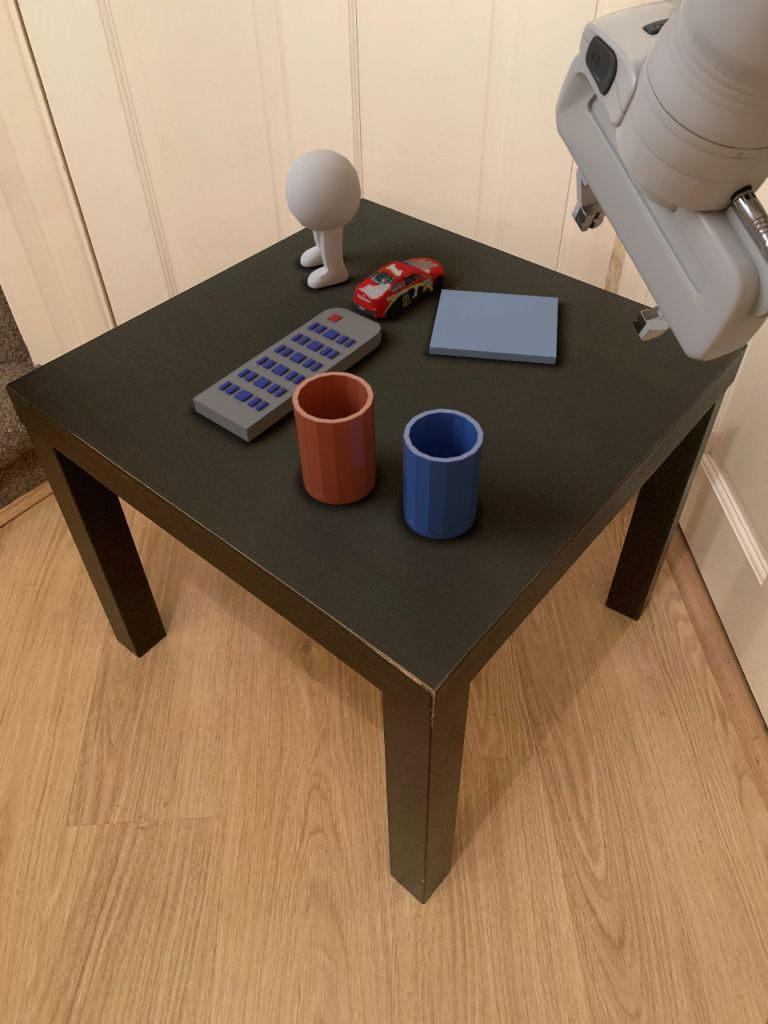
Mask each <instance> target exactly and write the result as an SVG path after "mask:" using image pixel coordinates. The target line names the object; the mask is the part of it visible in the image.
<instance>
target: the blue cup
mask: <svg viewBox="0 0 768 1024" xmlns="http://www.w3.org/2000/svg"><path fill="white" fill-rule="evenodd" d="M484 436H485V433H484V431H483V429H482V427H481V425H480V423H479V422H478V421H477V420H476V419H474V418H473V416H471V415H469V414H467V413H464V412H461V411H459V410H455V409H447V408H437V409H432V410H425V411H423V412H421V413H419V414H417V415H414V416H413V417H412V418H411V419H410V420H409V422H407V424H406V425H405V426H404V431H403V435H402V475H403V476H402V497H403V498H402V507H403V516H404V520H405V522H406V523H407V525H408V526H409V528H411V529H412V530H413V531H414V532H416V534H419V535H420V536H423V537H425V538H429V539H433V540H447V539H453V538H457V537H459V536H461V535H463V534H465V533H466V532H467V531H468V530H470V528H471V527H472V526H473V524H474V522H475V520H476V516H477V509H478V508H477V507H478V497H479V487H480V476H481V465H482V458H483V457H482V456H483V447H484Z"/></svg>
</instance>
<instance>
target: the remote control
mask: <svg viewBox="0 0 768 1024" xmlns="http://www.w3.org/2000/svg"><path fill="white" fill-rule="evenodd" d="M381 327H382V326H381V325H380V323H378V322H376V321H375V320H372V319H369V318H367V317H365V316H362V315H360V314H358V313H356V312H354V311H351V310H349V309H347V308H342V307H333V308H329V309H325V310H323V311H321V312H320V313H318V314H317V315H315V317H312V318H311V319H310V320H309V321H306V323H304V324H303V325H301V326H300V327H298V328H296V329H295V330H293V331H292V332H290V333H289V334H287V335H286V336H284V337H283V338H281V339H280V340H279V341H276V342H275V343H274V344H273V345H271V346H269V347H268V348H266V349H265V350H263V351H262V352H260V353H258V355H256V356H254V357H253V358H251V359H250V360H248V361H247V362H245V363H244V364H242V365H241V366H239V367H237V368H236V369H235V370H233V371H232V372H230V373H228V375H226V376H224V377H223V378H221V379H220V380H219V381H217V382H215V383H214V384H212V385H211V386H210V387H208V388H206V389H205V390H203V391H202V392H201V393H199V394H198V395H196V396H195V397H193V398H192V400H193V404H194V409H195V412H197V413H198V414H199V415H202V416H203V417H205V418H206V419H208V420H210V421H211V422H214V424H217V425H218V426H221V428H224V429H225V430H227V431H229V432H231V433H232V434H234V435H236V436H237V437H239V438H241V439H242V440H244V441H245V442H247V443H250V442H251V441H252V440H254V439H255V438H256V437H258V436H259V435H260V434H262V433H263V432H265V431H266V430H267V429H268V428H270V427H272V426H273V425H274V424H276V422H278V421H279V420H281V419H282V418H283V417H285V416H286V415H288V414H289V413H290V412H291V411H293V403H292V397H293V394H294V392H295V389H296V388H297V387H298V386H299V385H300V384H301V383H302V382H303V381H304V380H306V379H308V378H310V377H312V376H315V375H317V374H321V373H328V372H344V373H345V372H346V371H347V370H348V369H350V368H351V367H352V366H353V365H355V364H356V363H357V362H359V361H360V360H362V359H363V358H365V357H366V356H367V355H368V354H370V353H371V352H372V351H373V350H376V348H378V347H379V345H380V343H381V340H382V328H381Z"/></svg>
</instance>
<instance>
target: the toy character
mask: <svg viewBox="0 0 768 1024" xmlns="http://www.w3.org/2000/svg"><path fill="white" fill-rule="evenodd" d="M359 178H360V177H359V173H358V171H357V170H356V168H355V166H354V165H353V164H352V163H351V161H350V160H349V159H348V158H347V157H346V156H345V155H342V154H340V153H338V152H337V151H334V150H333V149H321V148H316V149H314V150H310V151H308V152H304V153H302V154H301V155H300V156H298V157H297V158H296V159H295V160H294V161H292V163H291V165H290V167H289V170H288V171H287V173H286V179H285V199H286V204H287V206H288V209H289V211H290V213H291V214H292V215H293V216H294V218H296V221H298V223H299V224H300V225H301V226H302V227H304V228H306V229H309V230H311V231H312V234H313V239H314V242H315V243H314V244H315V246H313V247H311V248H309V249H306V250H305V251H304V252H303V253H302V255H301V257H300V264H301V266H302V267H305V268H312V267H316V266H317V267H318V266H320V265H321V267H319V268H317V269H315V270H313V271H312V272H311V273H310V274H309V276H308V278H307V285H308V287H310V288H312V289H321V288H325V287H329V286H333V285H336V284H341V283H343V282H346V281H347V280H348V279H349V276H350V274H349V271H348V269H347V267H346V265H345V262H344V256H343V255H344V253H343V240H344V239H343V238H344V237H343V235H344V227H345V226H346V225H347V224H349V223H350V222H352V220H353V219H354V218H355V216H356V214H357V213H358V210H359V209H360V205H361V197H362V189H361V183H360V179H359ZM322 265H323V266H322Z"/></svg>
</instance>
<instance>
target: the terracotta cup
mask: <svg viewBox="0 0 768 1024" xmlns="http://www.w3.org/2000/svg"><path fill="white" fill-rule="evenodd" d="M292 403H293V410H292V411H293V418H294V424H295V433H296V440H297V448H298V456H299V463H300V471H301V476H302V482H303V486H304V489H305V491H306V492H307V494H309V496H311V497H312V498H313V499H314V500H317V501H319V502H321V503H324V504H328V505H339V506H340V505H347V504H352V503H354V502H358V501H360V500H362V499H363V498H365V497H366V496H367V495H369V493H371V492H372V490H373V489H374V487H375V485H376V482H377V472H378V471H377V445H376V444H377V443H376V441H377V440H376V418H375V417H376V415H375V394H374V391H373V388H372V386H371V384H370V383H368V382H367V381H366V380H365V379H364V378H363V377H361V376H358V375H355V374H353V373H350V372H345V371H344V372H328V373H321V374H317V375H315V376H312V377H310V378H308V379H306V380H304V381H303V382H302V383H301V384H300V385H299V386H298V387H297V388H296V389H295V392H294V394H293V397H292Z"/></svg>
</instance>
